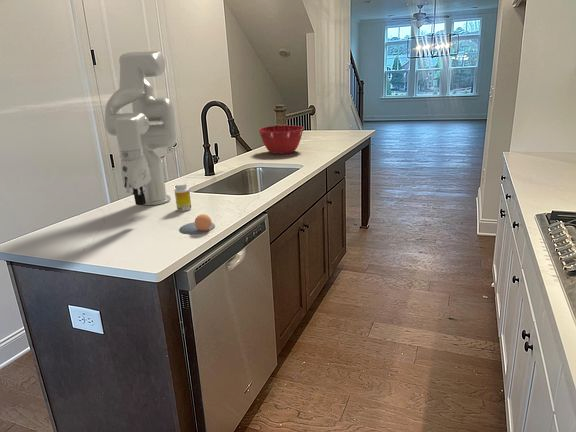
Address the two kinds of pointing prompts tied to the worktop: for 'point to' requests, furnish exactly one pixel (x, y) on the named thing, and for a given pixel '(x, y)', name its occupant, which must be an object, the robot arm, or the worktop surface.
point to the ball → (203, 222)
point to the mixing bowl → (281, 138)
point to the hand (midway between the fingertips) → (140, 204)
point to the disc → (193, 229)
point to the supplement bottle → (182, 197)
